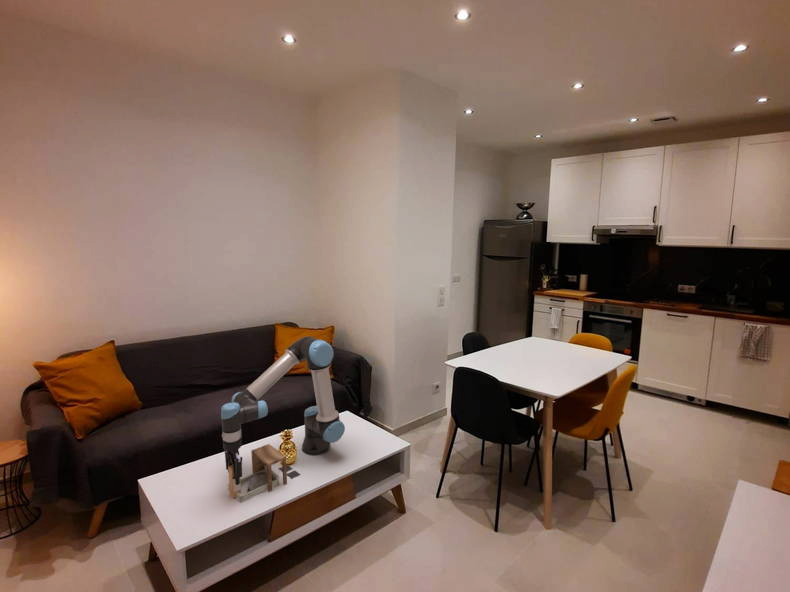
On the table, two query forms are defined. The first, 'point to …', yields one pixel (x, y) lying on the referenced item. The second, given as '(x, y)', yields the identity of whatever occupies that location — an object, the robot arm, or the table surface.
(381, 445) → the table surface
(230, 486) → the sled
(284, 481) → the tunnel
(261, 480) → the fossilized seashell
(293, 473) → the pits
